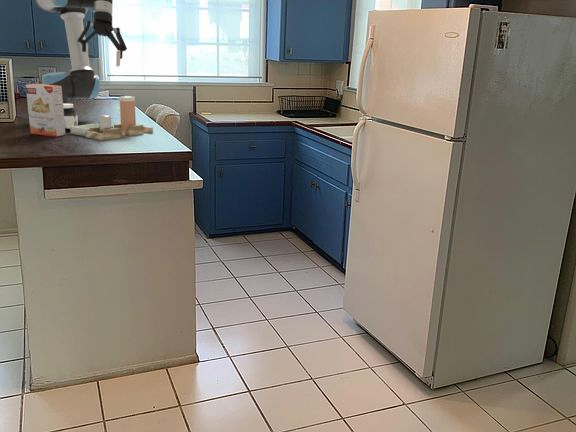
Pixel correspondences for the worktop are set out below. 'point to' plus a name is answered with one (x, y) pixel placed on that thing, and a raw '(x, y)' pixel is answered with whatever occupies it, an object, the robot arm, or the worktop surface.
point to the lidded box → (127, 112)
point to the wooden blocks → (117, 132)
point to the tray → (82, 129)
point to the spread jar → (69, 117)
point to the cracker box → (45, 109)
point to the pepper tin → (104, 122)
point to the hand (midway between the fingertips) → (102, 63)
